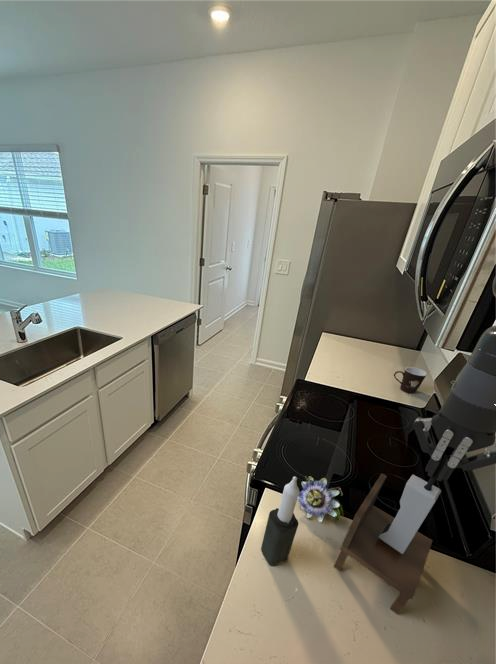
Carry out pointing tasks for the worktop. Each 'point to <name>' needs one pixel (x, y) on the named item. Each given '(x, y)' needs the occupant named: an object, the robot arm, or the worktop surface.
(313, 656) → the worktop surface
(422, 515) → the vintage mobile phone
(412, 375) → the coffee mug
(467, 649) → the worktop surface
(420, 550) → the shelf
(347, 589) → the worktop surface
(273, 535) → the candle
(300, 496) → the passion flower
